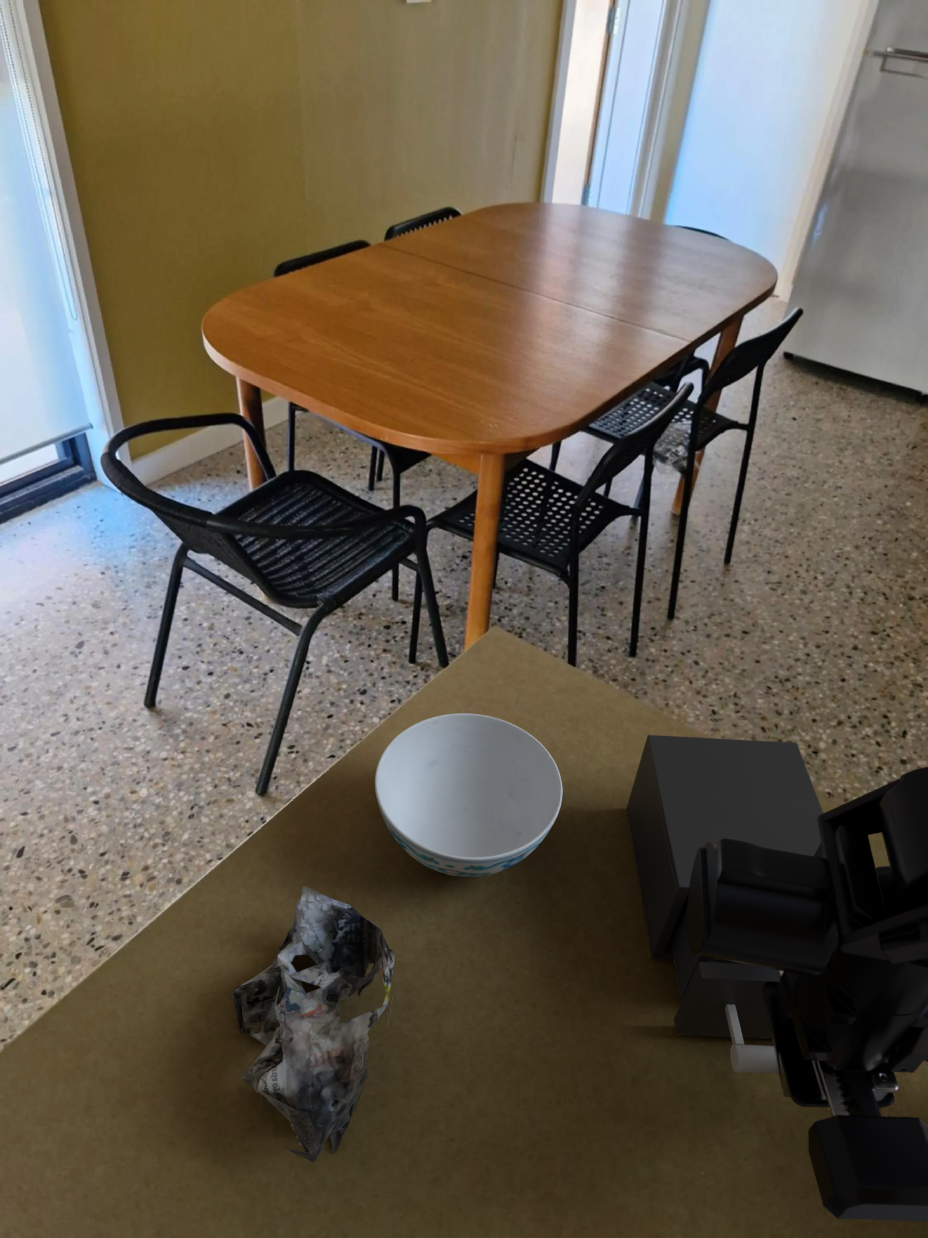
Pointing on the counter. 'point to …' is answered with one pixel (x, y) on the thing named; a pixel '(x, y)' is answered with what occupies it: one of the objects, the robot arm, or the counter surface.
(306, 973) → the foil
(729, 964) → the pulled-out drawer
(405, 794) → the chinaware
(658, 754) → the drawer cabinet
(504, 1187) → the counter surface
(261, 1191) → the counter surface
